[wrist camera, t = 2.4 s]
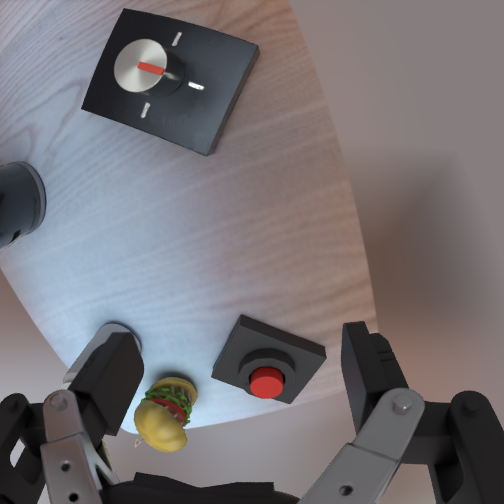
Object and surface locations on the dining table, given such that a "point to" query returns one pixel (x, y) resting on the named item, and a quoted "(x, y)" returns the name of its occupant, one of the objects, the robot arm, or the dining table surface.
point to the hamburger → (165, 414)
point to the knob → (148, 69)
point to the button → (266, 382)
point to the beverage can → (92, 345)
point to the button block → (267, 357)
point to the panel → (189, 91)
